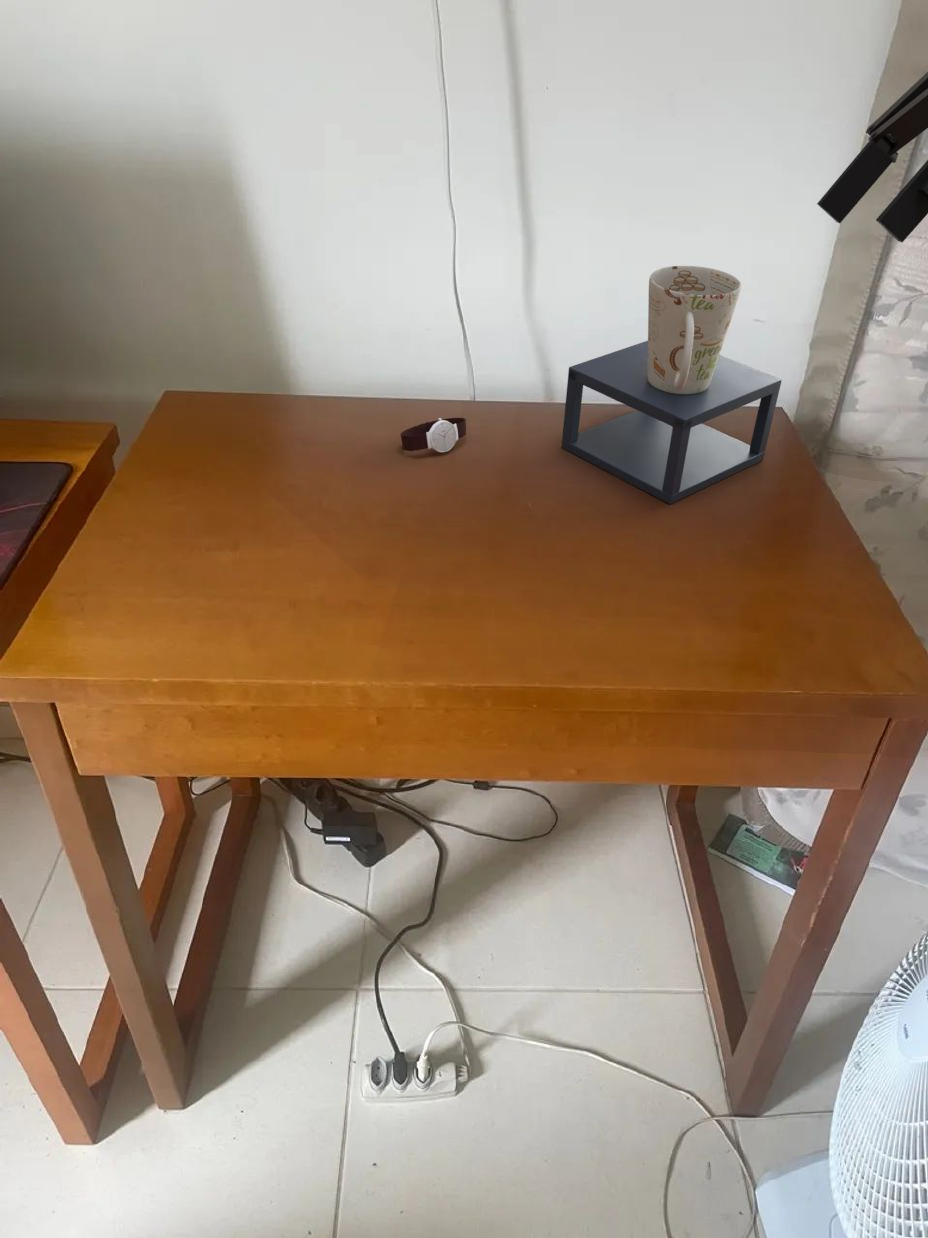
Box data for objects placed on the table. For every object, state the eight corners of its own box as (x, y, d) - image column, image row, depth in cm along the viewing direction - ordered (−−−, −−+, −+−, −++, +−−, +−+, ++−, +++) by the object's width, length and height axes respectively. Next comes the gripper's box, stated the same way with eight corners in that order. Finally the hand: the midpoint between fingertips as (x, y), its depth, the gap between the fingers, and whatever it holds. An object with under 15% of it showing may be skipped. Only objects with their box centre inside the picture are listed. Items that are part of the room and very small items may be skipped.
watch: (415, 464, 100) (415, 431, 98) (390, 446, 103) (390, 414, 101) (476, 445, 104) (477, 413, 102) (450, 428, 107) (451, 397, 105)
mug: (718, 368, 99) (737, 268, 93) (727, 423, 89) (749, 315, 83) (635, 362, 100) (649, 262, 94) (635, 415, 90) (651, 308, 84)
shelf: (763, 460, 103) (782, 379, 98) (669, 504, 95) (684, 419, 90) (654, 410, 112) (666, 333, 107) (560, 447, 104) (568, 366, 99)
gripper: (1195, 7, 67) (952, 271, 74) (1006, 30, 89) (834, 231, 96) (1129, -74, 64) (886, 207, 72) (952, -30, 86) (780, 182, 94)
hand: (856, 222), depth 84 cm, fingers open, 13 cm apart
